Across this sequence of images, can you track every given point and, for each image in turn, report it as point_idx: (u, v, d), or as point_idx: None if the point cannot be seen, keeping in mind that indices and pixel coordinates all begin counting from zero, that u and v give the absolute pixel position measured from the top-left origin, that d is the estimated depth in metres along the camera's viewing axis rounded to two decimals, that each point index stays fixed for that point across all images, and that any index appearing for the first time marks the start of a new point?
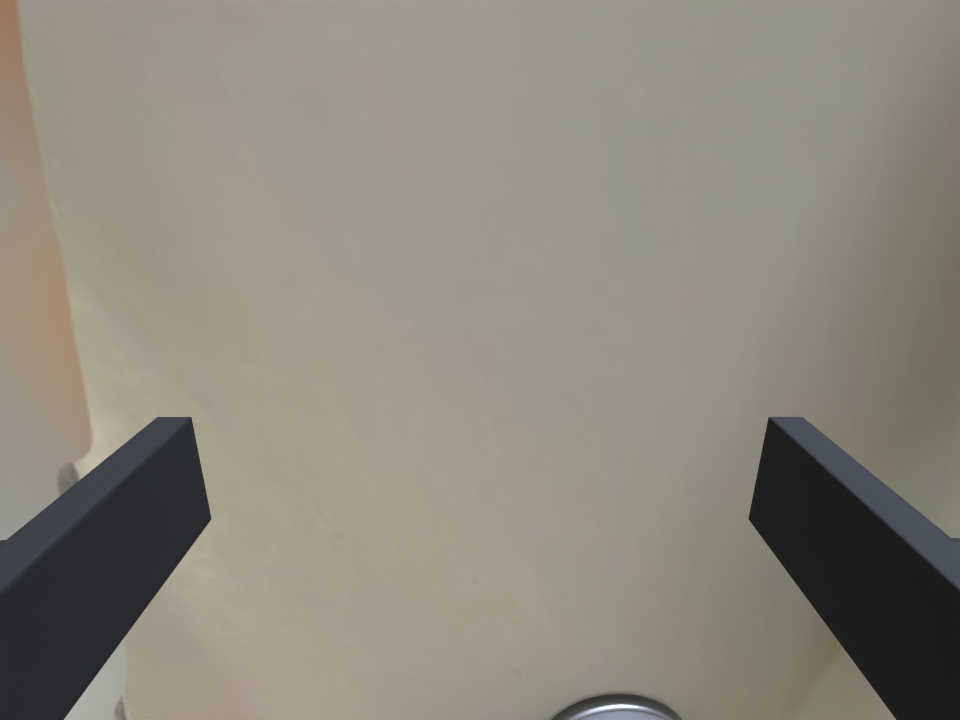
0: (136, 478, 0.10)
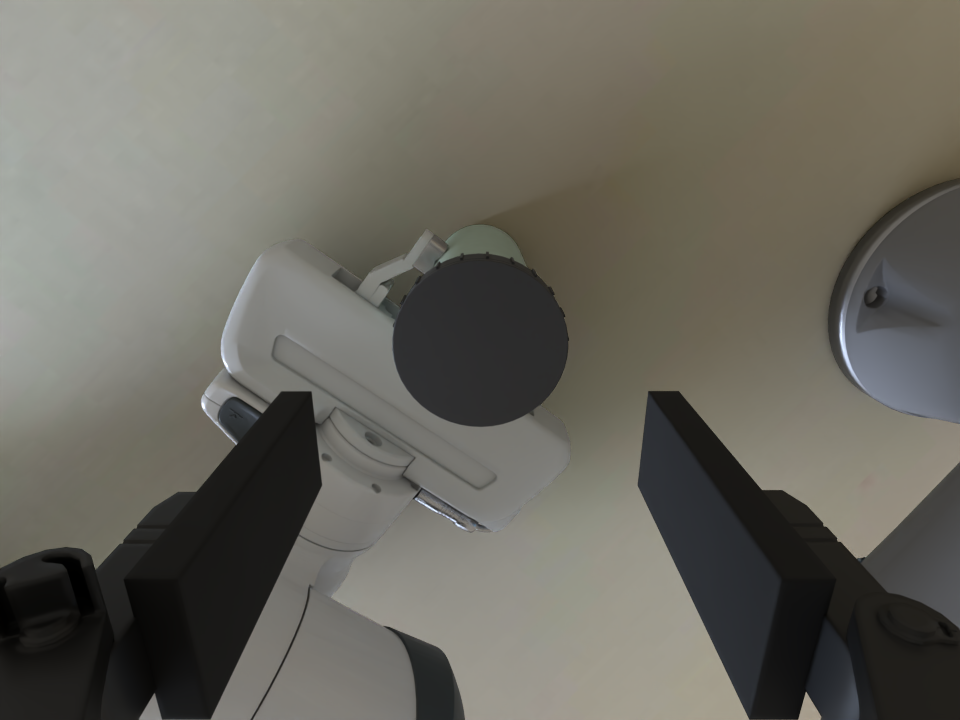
0: (283, 440, 0.12)
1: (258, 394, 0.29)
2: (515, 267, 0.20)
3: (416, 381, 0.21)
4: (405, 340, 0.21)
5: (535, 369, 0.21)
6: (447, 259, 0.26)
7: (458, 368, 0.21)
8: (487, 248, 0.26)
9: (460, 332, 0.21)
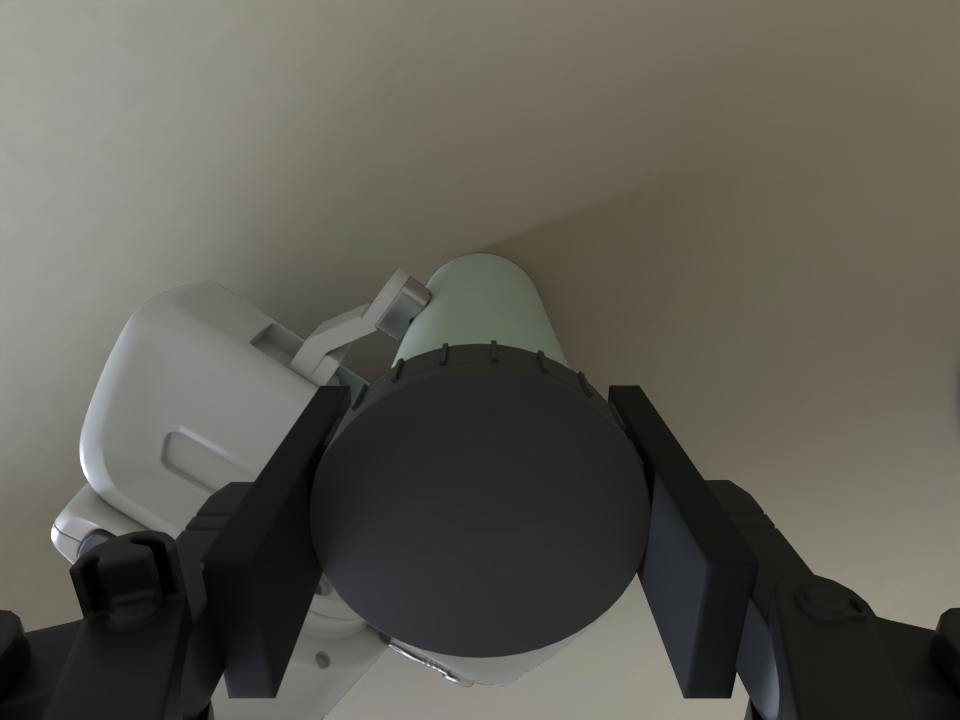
0: (329, 433, 0.12)
1: (140, 522, 0.19)
2: (551, 383, 0.10)
3: (358, 585, 0.11)
4: (334, 516, 0.11)
5: (586, 565, 0.11)
6: (425, 328, 0.15)
7: (438, 564, 0.11)
8: (492, 308, 0.16)
9: (441, 502, 0.11)
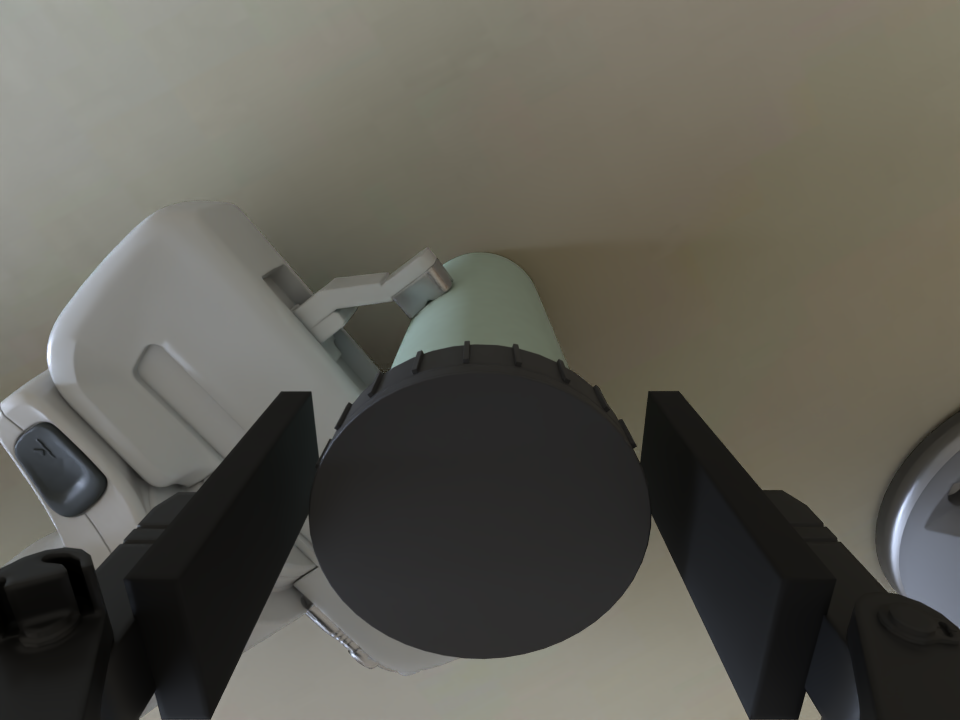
0: (283, 440, 0.12)
1: (93, 426, 0.18)
2: (316, 473, 0.10)
3: (546, 627, 0.12)
4: (466, 641, 0.12)
5: (525, 433, 0.10)
6: (452, 314, 0.15)
7: (521, 565, 0.11)
8: (518, 313, 0.16)
9: (448, 562, 0.11)
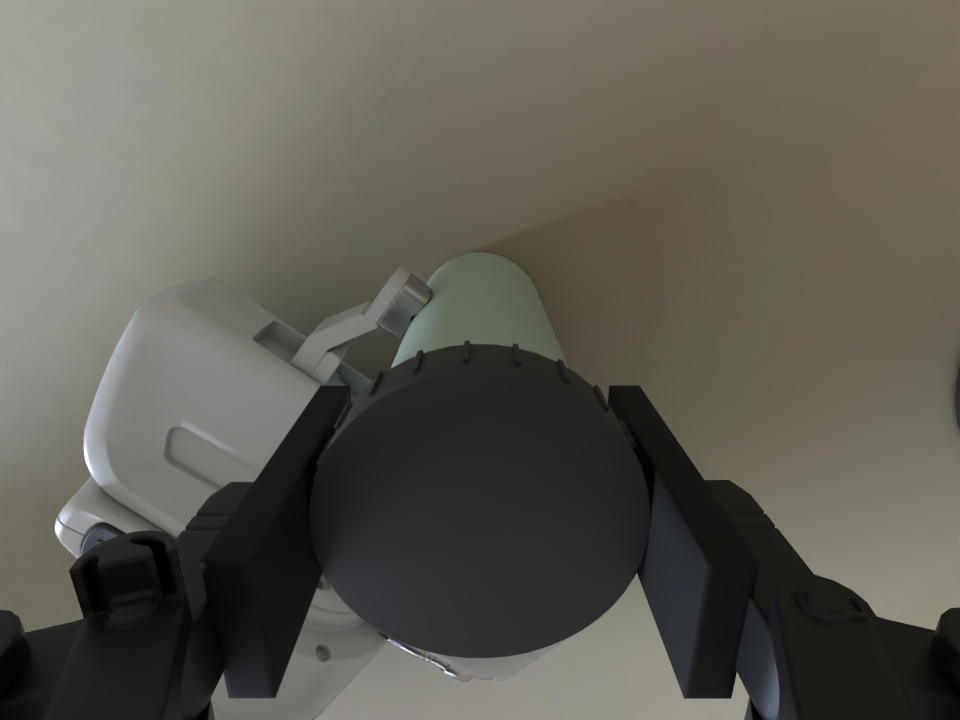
0: (329, 432, 0.12)
1: (143, 515, 0.19)
2: (309, 514, 0.11)
3: (577, 609, 0.11)
4: (504, 640, 0.12)
5: (490, 425, 0.10)
6: (426, 325, 0.16)
7: (531, 554, 0.11)
8: (492, 306, 0.16)
9: (460, 567, 0.11)
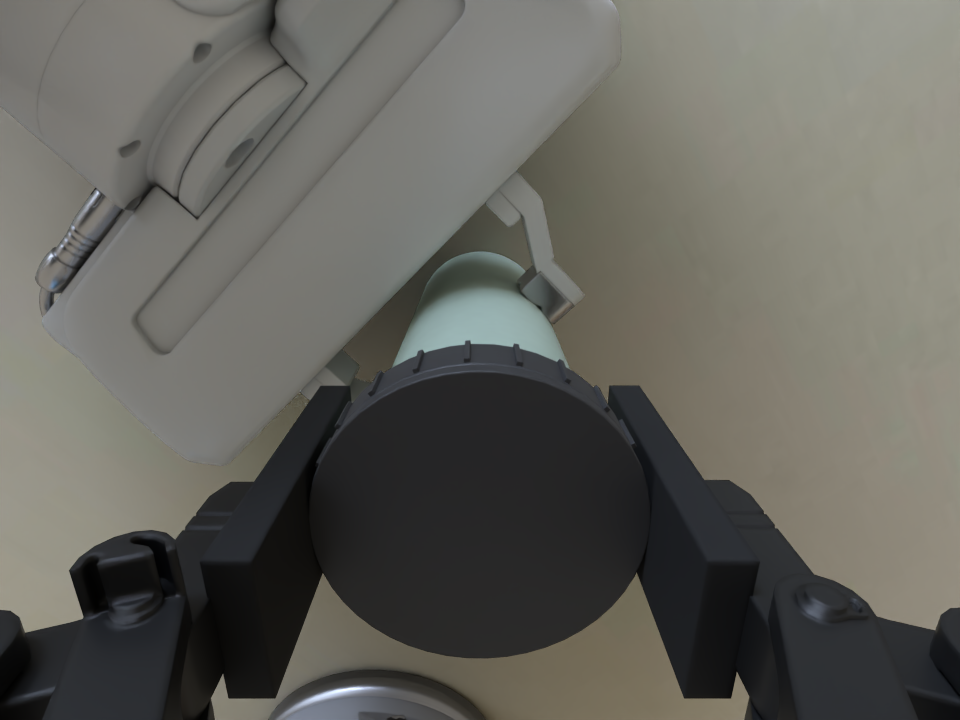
0: (329, 432, 0.12)
1: None
2: (309, 513, 0.11)
3: (576, 609, 0.11)
4: (503, 640, 0.12)
5: (490, 425, 0.10)
6: (567, 363, 0.16)
7: (530, 554, 0.11)
8: None
9: (460, 567, 0.11)
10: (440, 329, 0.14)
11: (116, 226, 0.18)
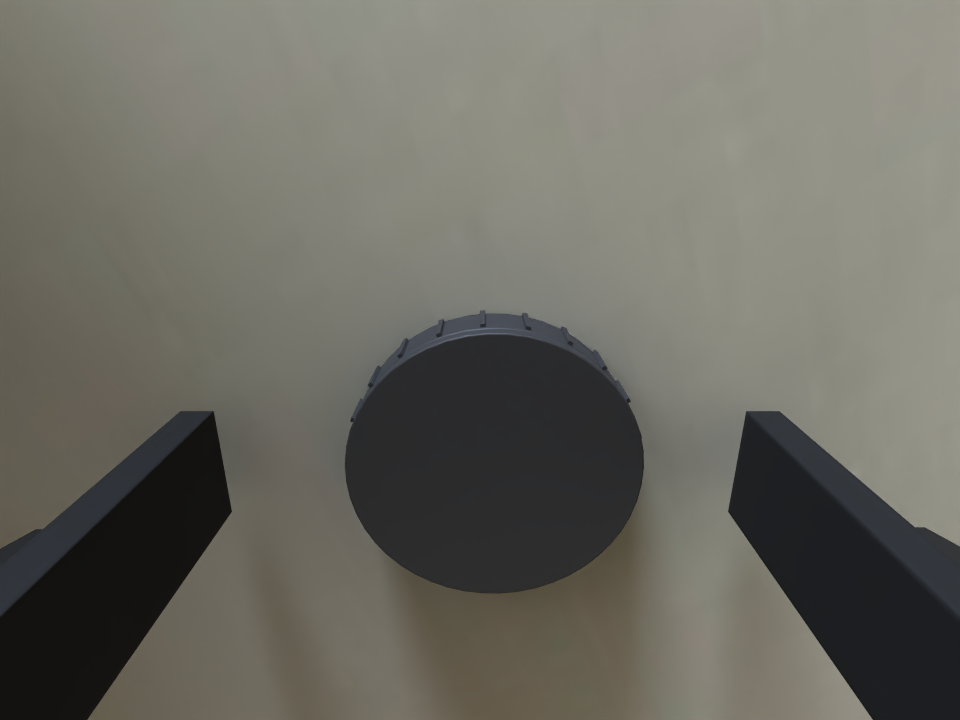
0: (164, 469, 0.11)
1: None
2: (346, 462, 0.12)
3: (579, 547, 0.13)
4: (515, 576, 0.13)
5: (504, 381, 0.12)
6: None
7: (539, 497, 0.13)
8: None
9: (477, 509, 0.13)
10: None
11: None
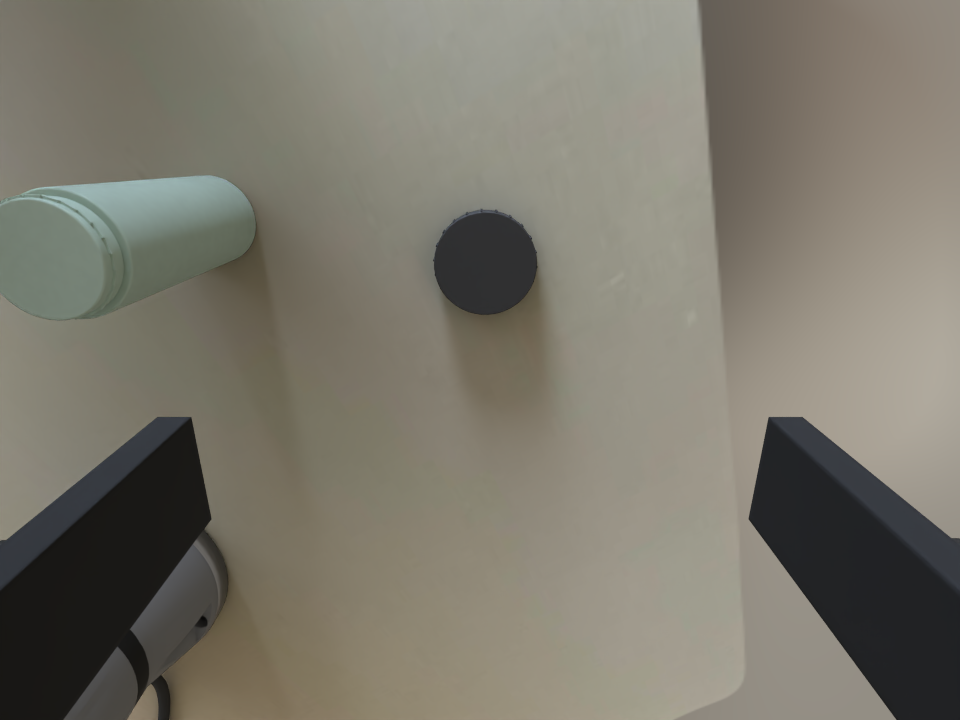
0: (136, 478, 0.10)
1: None
2: (434, 260, 0.36)
3: (516, 294, 0.37)
4: (493, 306, 0.37)
5: (488, 229, 0.35)
6: (174, 227, 0.27)
7: (501, 273, 0.36)
8: (183, 263, 0.28)
9: (479, 278, 0.36)
10: None
11: None
